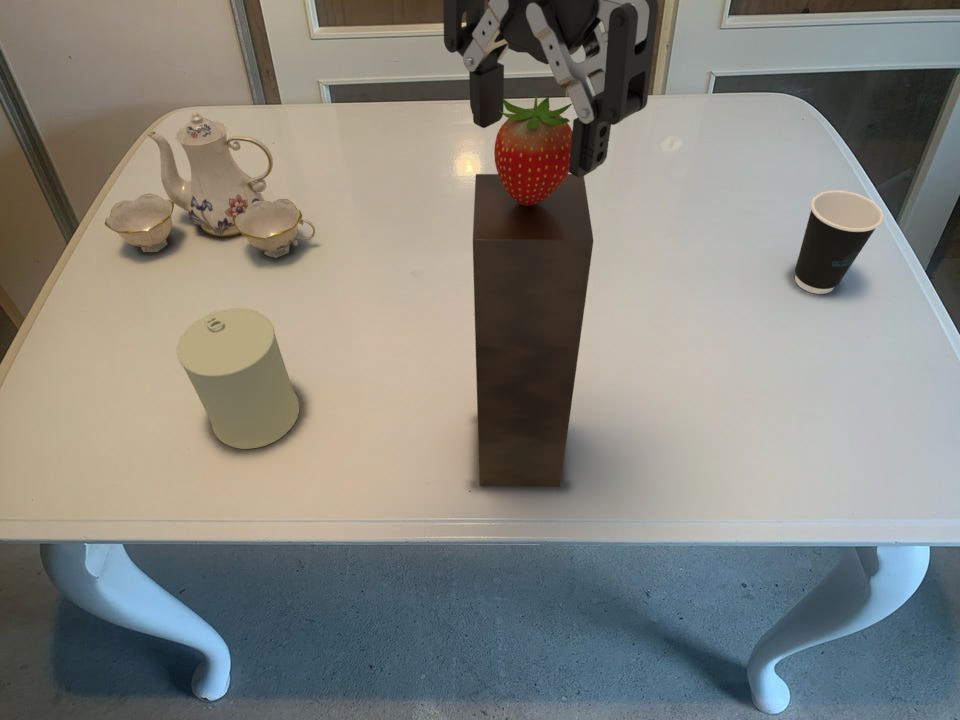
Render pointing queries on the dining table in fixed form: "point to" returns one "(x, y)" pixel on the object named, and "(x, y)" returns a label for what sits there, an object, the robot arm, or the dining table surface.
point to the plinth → (527, 327)
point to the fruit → (533, 151)
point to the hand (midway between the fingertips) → (534, 145)
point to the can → (239, 377)
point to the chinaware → (209, 195)
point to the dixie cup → (834, 238)
